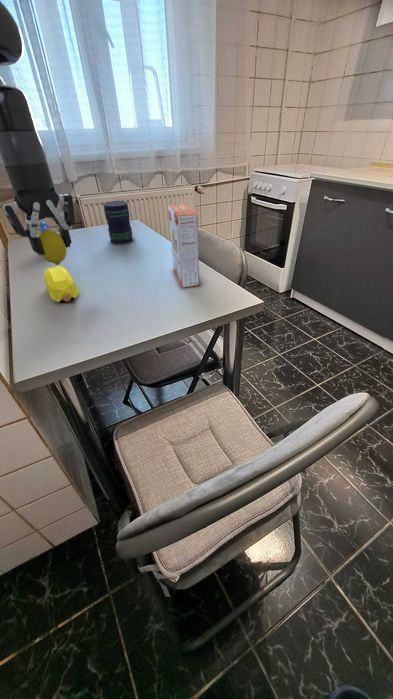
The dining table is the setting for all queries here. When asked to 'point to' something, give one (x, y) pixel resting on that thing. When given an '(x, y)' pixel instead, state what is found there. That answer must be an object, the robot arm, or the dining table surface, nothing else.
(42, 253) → the robot arm
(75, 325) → the dining table surface
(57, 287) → the yellow faceted capsule
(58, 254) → the lemon
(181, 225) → the cracker box
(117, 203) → the storage jar
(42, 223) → the grapes
